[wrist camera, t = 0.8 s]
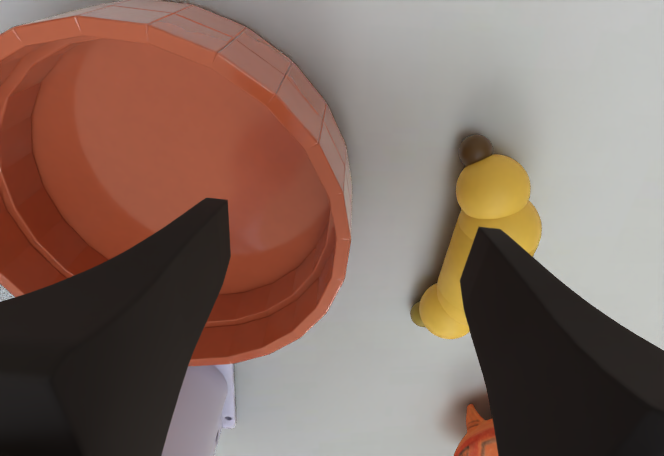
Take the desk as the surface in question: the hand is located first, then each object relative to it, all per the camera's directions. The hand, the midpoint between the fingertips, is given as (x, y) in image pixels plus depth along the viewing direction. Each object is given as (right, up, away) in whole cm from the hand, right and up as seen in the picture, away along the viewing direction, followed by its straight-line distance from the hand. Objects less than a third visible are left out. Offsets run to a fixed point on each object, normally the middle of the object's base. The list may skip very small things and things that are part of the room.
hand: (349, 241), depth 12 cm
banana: (+7, 0, +11) cm, 13 cm away
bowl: (-8, +3, +10) cm, 13 cm away
